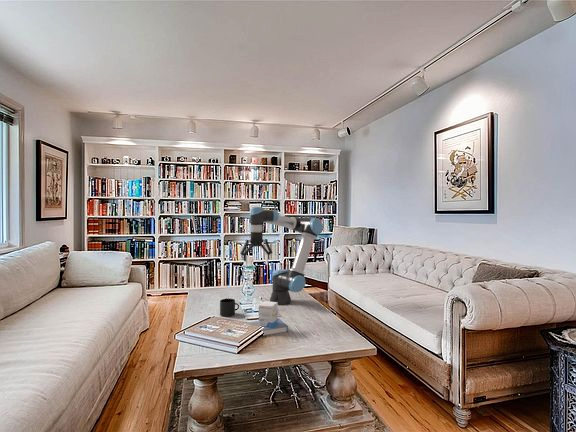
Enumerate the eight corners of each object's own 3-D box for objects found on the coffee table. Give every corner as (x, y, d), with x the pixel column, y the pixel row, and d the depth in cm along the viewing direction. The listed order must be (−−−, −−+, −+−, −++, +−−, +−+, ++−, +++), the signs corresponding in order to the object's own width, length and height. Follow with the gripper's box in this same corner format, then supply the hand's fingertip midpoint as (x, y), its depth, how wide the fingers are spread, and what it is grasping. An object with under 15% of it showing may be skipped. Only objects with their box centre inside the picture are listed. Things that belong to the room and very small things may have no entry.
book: (279, 324, 187) (279, 318, 187) (287, 332, 175) (287, 325, 175) (249, 328, 180) (249, 322, 180) (256, 337, 168) (256, 330, 168)
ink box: (278, 322, 181) (278, 301, 180) (273, 327, 172) (273, 306, 172) (263, 320, 183) (263, 300, 183) (258, 326, 175) (258, 304, 175)
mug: (239, 316, 200) (239, 302, 200) (219, 317, 198) (219, 303, 198) (238, 311, 209) (238, 297, 209) (220, 312, 207) (220, 298, 207)
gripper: (273, 230, 208) (273, 263, 209) (235, 231, 199) (235, 265, 199) (277, 231, 201) (277, 265, 202) (238, 232, 192) (238, 267, 192)
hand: (256, 265), depth 200 cm, fingers open, 13 cm apart
